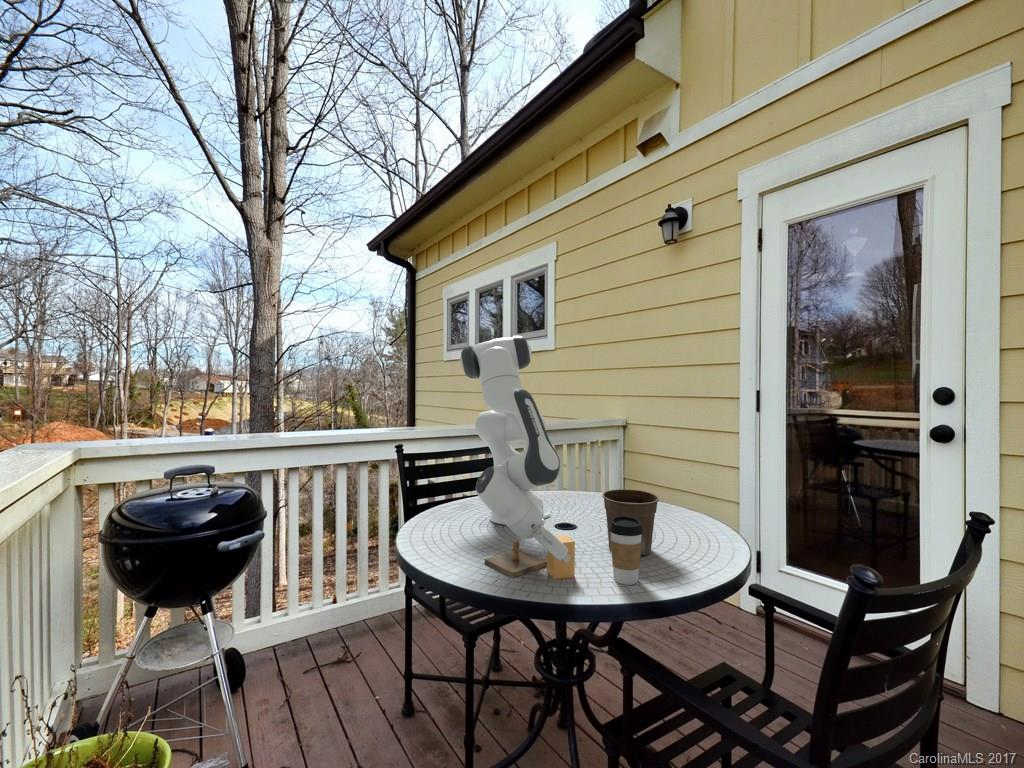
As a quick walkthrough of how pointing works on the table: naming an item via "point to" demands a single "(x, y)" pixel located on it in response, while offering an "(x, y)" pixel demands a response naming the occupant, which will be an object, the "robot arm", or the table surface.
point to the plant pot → (633, 511)
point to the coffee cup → (626, 548)
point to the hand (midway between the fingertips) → (562, 554)
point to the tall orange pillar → (561, 567)
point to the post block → (515, 561)
